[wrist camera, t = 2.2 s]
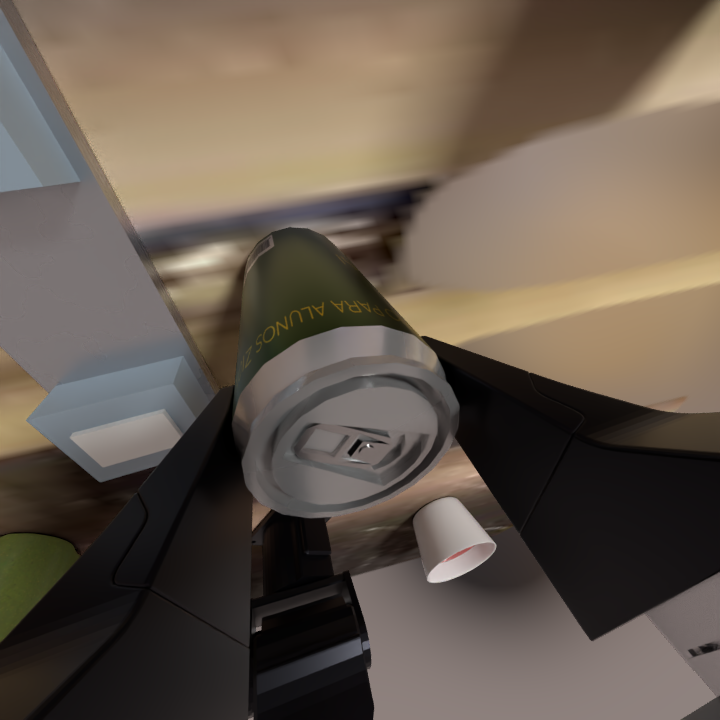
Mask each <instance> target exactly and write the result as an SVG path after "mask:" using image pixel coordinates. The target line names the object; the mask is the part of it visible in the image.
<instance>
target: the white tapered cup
mask: <svg viewBox="0 0 720 720" xmlns="http://www.w3.org/2000/svg"><path fill="white" fill-rule="evenodd" d="M413 527H414V531H415V535H416V539H417V543H418V547H419V551H420V555H421V558H422V562H423V566H424V570H425V574H426V578H427V580H428V581H429V582H431V583H439V582H443V581H447V580H450V579H453V578H456V577H458V576H460V575H463V574H464V573H467V572H468V571H470V570H472V569H474V568H475V567H476V566H478V565H480V564H481V563H483V562H484V561H485V560H486V559H488V558H489V557H490V556H491V555H492V554H493V552H494V551H495V549H496V544H495V543H494V542H493V540H492V539H491V538H490V536H489V535H488V534H487V533H486V532H485V530H484V529H483V528H482V527H481V526H480V525H479V523H478V522H477V521H476V520H475V519H474V517H473V516H472V515H471V514H470V513H469V511H468V510H467V509H466V508H465V507H464V506H463V504H462V503H461V502H460V501H459V500H458V499H457V498H454V497H444V498H440V499H437V500H435V501H433V502H431V503H429V504H427V505H426V506H424V507H423V508H422V509H420V510H419V511H418V512H417V513H416V515H415V516H414V518H413Z"/></svg>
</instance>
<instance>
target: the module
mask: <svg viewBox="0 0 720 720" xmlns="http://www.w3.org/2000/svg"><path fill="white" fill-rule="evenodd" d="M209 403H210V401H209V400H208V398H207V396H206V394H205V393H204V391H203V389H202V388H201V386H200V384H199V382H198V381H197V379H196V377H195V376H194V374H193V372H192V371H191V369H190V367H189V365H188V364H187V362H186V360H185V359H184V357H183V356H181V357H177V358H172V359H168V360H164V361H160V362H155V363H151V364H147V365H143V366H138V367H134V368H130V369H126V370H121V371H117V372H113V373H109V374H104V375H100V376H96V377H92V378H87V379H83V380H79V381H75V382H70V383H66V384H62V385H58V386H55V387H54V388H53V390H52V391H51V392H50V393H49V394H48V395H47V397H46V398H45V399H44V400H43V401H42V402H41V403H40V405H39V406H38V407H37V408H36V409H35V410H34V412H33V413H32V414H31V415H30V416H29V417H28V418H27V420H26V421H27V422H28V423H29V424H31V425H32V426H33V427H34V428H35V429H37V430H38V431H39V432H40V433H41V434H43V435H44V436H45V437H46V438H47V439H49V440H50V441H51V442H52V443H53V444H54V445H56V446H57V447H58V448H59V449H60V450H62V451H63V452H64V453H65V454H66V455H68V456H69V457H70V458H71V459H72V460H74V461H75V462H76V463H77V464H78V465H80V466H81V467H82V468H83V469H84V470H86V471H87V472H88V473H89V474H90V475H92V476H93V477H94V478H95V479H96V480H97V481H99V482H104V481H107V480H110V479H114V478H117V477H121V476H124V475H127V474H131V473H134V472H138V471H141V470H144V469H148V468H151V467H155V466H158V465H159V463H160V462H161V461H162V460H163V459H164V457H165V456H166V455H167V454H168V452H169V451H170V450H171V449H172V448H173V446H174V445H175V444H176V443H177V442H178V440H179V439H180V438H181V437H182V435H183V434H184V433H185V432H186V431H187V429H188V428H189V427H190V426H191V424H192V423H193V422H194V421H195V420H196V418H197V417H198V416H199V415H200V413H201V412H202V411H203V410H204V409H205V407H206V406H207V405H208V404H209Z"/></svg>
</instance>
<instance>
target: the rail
mask: <svg viewBox="0 0 720 720" xmlns="http://www.w3.org/2000/svg"><path fill="white" fill-rule="evenodd" d="M0 44H1V46H2V48H3V49H4V51H5V53H6V55H7V56H8V58H9V60H10V61H11V63H12V65H13V67H14V68H15V70H16V72H17V73H18V75H19V77H20V78H21V80H22V82H23V84H24V85H25V87H26V89H27V90H28V92H29V94H30V96H31V97H32V99H33V101H34V102H35V104H36V106H37V108H38V109H39V111H40V113H41V114H42V116H43V118H44V119H45V121H46V123H47V125H48V126H49V128H50V130H51V131H52V133H53V135H54V137H55V138H56V140H57V142H58V143H59V145H60V147H61V149H62V150H63V152H64V154H65V155H66V157H67V159H68V160H69V162H70V164H71V166H72V167H73V169H74V171H75V172H76V174H77V176H78V178H79V179H80V182H73V183H66V184H59V185H51V186H44V187H36V188H29V189H21V190H13V191H5V192H0V346H1V347H2V348H3V349H4V350H5V351H6V352H7V353H8V354H9V355H10V356H11V357H12V358H13V359H14V360H15V361H16V362H17V363H18V364H19V365H20V366H21V367H22V368H23V369H24V370H25V371H26V372H27V373H28V374H30V375H31V376H32V377H33V378H34V379H35V380H36V381H37V382H38V383H39V384H40V385H41V386H42V387H43V388H44V389H45V390H46V391H47V392H48V393H50V392H51V391H52V390H53V388H54V387H55V386H58V385H62V384H66V383H70V382H75V381H79V380H83V379H87V378H92V377H96V376H100V375H104V374H109V373H113V372H117V371H121V370H126V369H130V368H134V367H138V366H143V365H147V364H151V363H155V362H160V361H164V360H168V359H172V358H177V357H181V356H183V357H184V359H185V360H186V362H187V364H188V365H189V367H190V369H191V371H192V372H193V374H194V376H195V377H196V379H197V381H198V382H199V384H200V386H201V388H202V389H203V391H204V393H205V394H206V396H207V398H208V400H209V401H211V400H212V399H213V398H214V396H215V395H216V394H217V393H218V392H219V390H220V389H219V387H218V385H217V383H216V381H215V379H214V377H213V375H212V374H211V372H210V370H209V368H208V366H207V364H206V362H205V361H204V359H203V357H202V355H201V353H200V351H199V349H198V347H197V346H196V344H195V342H194V340H193V338H192V336H191V334H190V333H189V331H188V329H187V327H186V325H185V323H184V321H183V319H182V318H181V316H180V314H179V312H178V310H177V308H176V306H175V305H174V303H173V301H172V299H171V297H170V295H169V293H168V291H167V290H166V288H165V286H164V284H163V282H162V280H161V278H160V277H159V275H158V273H157V271H156V269H155V267H154V265H153V263H152V262H151V260H150V258H149V256H148V254H147V252H146V250H145V249H144V247H143V245H142V243H141V241H140V239H139V237H138V236H137V234H136V232H135V230H134V228H133V226H132V224H131V222H130V221H129V219H128V217H127V215H126V213H125V211H124V209H123V208H122V206H121V204H120V202H119V200H118V198H117V196H116V194H115V193H114V191H113V189H112V187H111V185H110V183H109V181H108V180H107V178H106V176H105V174H104V172H103V170H102V168H101V166H100V165H99V163H98V161H97V159H96V157H95V155H94V153H93V152H92V150H91V148H90V146H89V144H88V142H87V140H86V138H85V137H84V135H83V133H82V131H81V129H80V127H79V125H78V124H77V122H76V120H75V118H74V116H73V114H72V112H71V110H70V109H69V107H68V105H67V103H66V101H65V99H64V97H63V96H62V94H61V92H60V90H59V88H58V86H57V84H56V83H55V81H54V79H53V77H52V75H51V73H50V71H49V69H48V68H47V66H46V64H45V62H44V60H43V58H42V56H41V55H40V53H39V51H38V49H37V47H36V45H35V43H34V41H33V40H32V38H31V36H30V34H29V32H28V30H27V28H26V27H25V25H24V23H23V21H22V19H21V17H20V15H19V13H18V12H17V10H16V8H15V6H14V4H13V2H12V0H0Z"/></svg>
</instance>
